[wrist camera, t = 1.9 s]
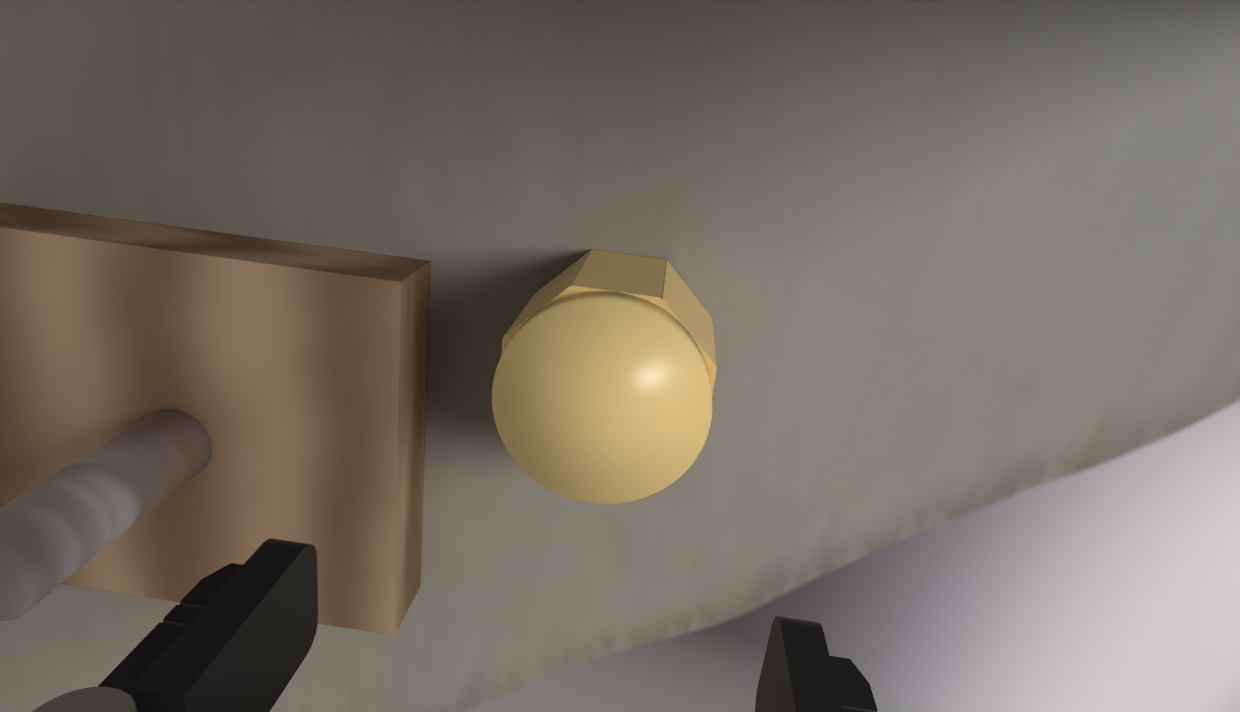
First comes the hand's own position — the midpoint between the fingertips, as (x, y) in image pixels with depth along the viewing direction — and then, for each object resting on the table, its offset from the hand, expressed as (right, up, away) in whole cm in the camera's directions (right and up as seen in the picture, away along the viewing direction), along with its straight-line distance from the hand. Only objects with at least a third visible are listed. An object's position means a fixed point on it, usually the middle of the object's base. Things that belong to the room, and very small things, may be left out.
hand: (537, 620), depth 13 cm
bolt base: (-14, +3, +17) cm, 22 cm away
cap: (+1, +5, +15) cm, 16 cm away
